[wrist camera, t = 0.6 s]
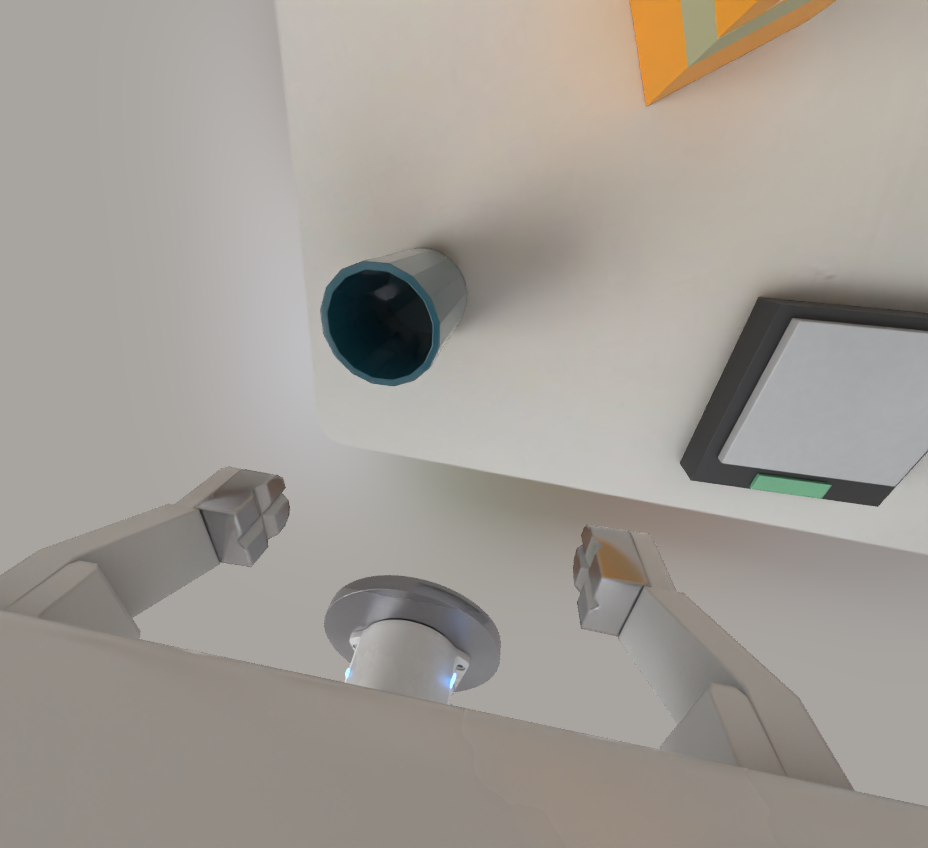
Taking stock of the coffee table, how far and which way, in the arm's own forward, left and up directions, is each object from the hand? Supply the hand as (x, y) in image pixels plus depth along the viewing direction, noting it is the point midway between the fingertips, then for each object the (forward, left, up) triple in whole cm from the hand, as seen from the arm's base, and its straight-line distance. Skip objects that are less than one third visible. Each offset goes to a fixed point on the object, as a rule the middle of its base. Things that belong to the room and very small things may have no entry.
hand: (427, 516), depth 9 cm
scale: (-3, -25, -21) cm, 32 cm away
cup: (+2, +5, -21) cm, 21 cm away
